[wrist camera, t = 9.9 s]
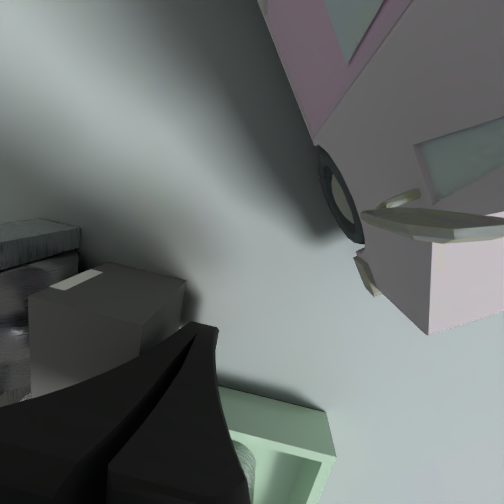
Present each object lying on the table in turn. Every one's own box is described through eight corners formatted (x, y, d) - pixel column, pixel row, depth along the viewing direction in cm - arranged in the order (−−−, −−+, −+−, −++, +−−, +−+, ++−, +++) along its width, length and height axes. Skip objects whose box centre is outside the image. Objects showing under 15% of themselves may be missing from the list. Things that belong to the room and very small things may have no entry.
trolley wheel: (99, 232, 11) (9, 253, 7) (95, 356, 13) (21, 425, 9) (20, 214, 11) (-108, 225, 8) (27, 340, 13) (-73, 400, 9)
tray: (326, 412, 13) (336, 457, 11) (285, 521, 15) (287, 575, 13) (182, 376, 13) (164, 413, 11) (164, 488, 15) (147, 536, 13)
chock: (186, 280, 12) (142, 325, 8) (174, 356, 13) (131, 428, 9) (108, 261, 12) (27, 295, 8) (104, 338, 13) (31, 400, 9)
